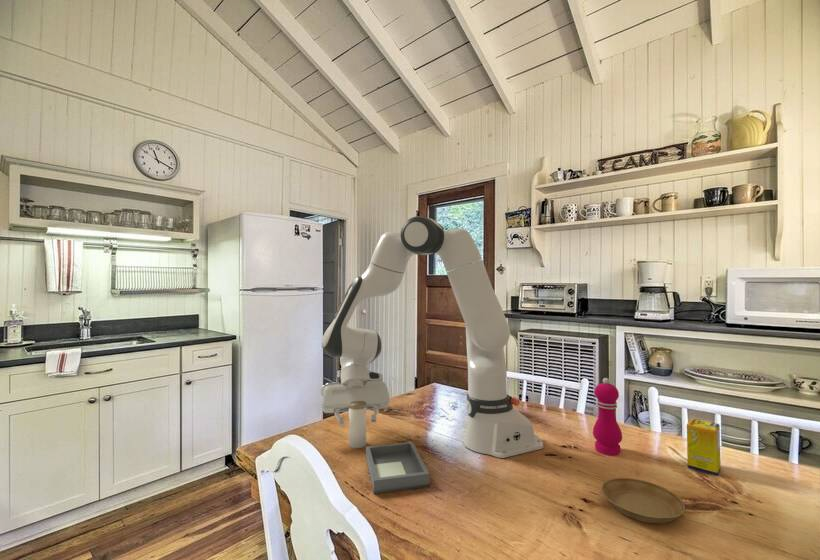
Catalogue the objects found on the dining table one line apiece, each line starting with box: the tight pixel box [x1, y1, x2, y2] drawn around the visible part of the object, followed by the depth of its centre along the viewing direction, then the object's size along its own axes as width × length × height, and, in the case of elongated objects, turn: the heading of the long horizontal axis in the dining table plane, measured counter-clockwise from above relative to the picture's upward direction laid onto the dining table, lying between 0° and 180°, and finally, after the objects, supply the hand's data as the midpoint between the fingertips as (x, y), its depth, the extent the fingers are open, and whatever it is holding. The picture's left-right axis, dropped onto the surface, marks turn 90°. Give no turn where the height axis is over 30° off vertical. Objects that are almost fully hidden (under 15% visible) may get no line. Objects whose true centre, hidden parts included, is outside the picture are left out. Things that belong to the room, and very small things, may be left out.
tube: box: [348, 401, 367, 449], centre depth 111 cm, size 5×5×12 cm
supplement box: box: [686, 418, 722, 477], centre depth 94 cm, size 6×6×11 cm
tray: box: [365, 441, 431, 495], centre depth 95 cm, size 13×18×3 cm
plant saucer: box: [600, 477, 686, 525], centre depth 78 cm, size 15×15×3 cm
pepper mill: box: [592, 377, 623, 456], centre depth 104 cm, size 7×7×20 cm
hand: (357, 423), depth 110 cm, fingers open, 8 cm apart
